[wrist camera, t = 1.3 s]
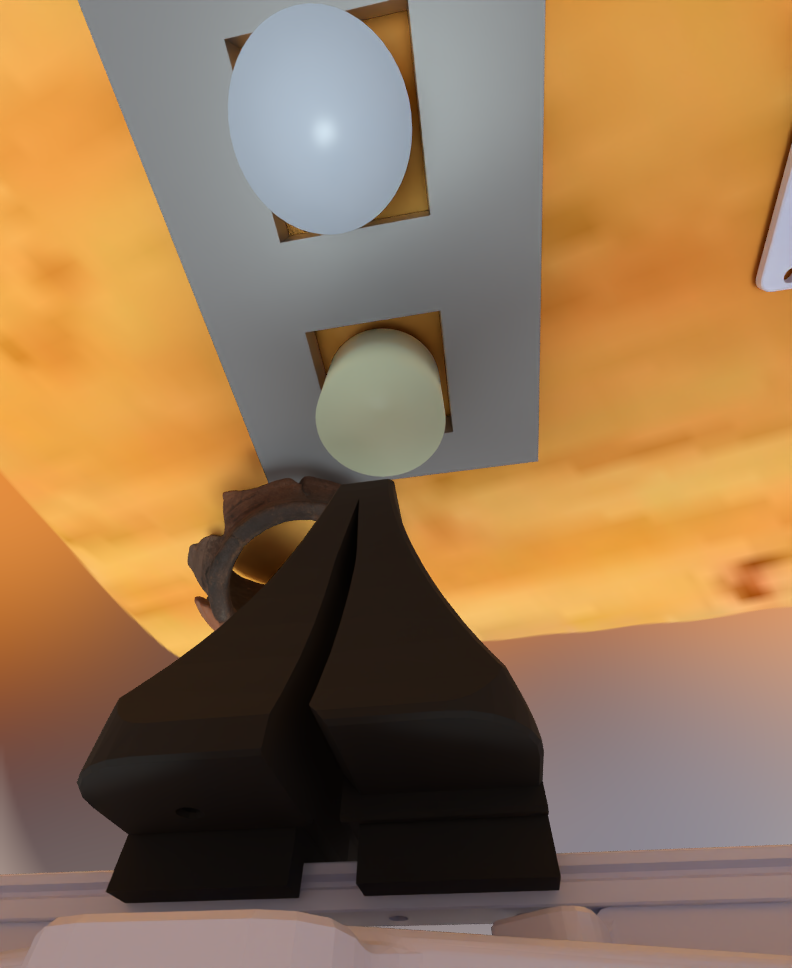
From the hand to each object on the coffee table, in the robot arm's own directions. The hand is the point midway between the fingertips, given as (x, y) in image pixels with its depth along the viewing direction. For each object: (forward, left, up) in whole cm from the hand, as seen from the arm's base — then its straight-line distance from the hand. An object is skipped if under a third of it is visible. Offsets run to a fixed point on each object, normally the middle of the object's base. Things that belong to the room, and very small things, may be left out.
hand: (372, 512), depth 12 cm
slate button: (0, -8, -8) cm, 11 cm away
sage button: (0, 0, -8) cm, 8 cm away
